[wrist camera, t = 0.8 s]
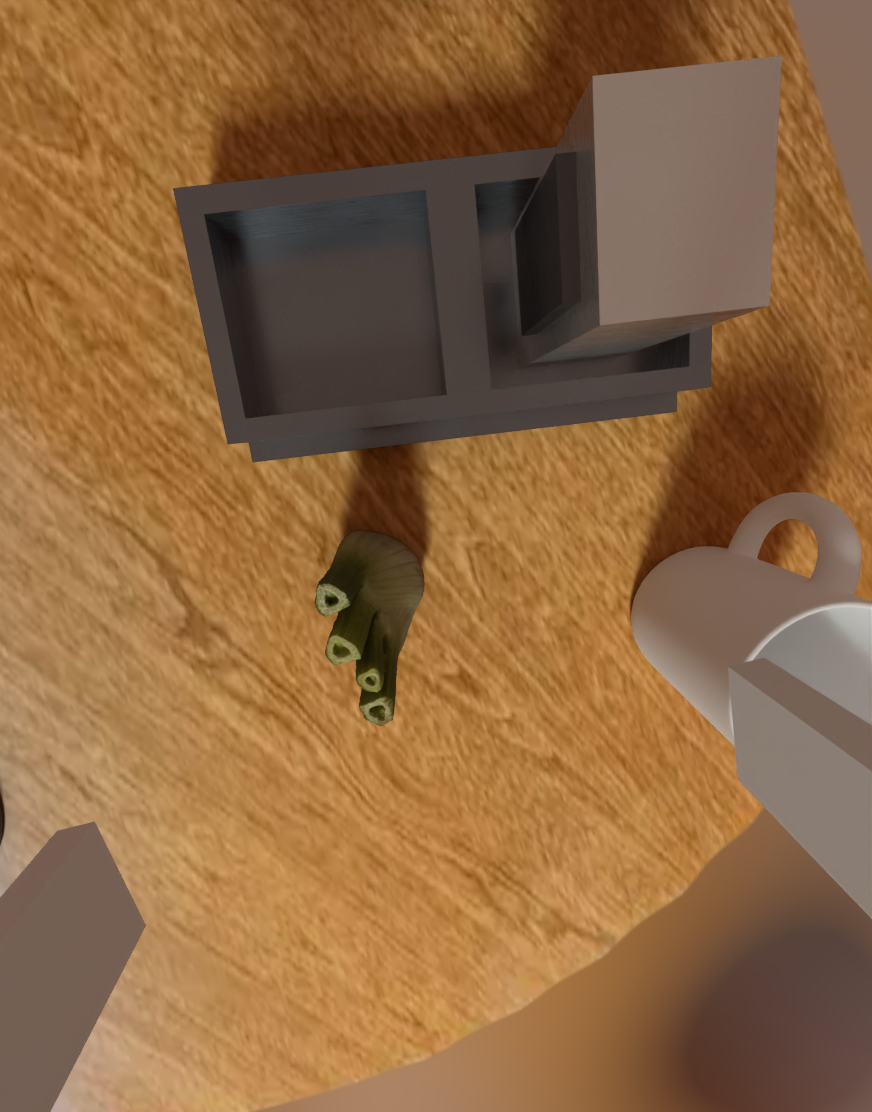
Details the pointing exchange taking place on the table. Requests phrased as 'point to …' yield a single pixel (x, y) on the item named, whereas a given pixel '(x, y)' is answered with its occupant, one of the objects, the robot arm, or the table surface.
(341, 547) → the fennel bulb
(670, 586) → the mug
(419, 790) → the table surface
